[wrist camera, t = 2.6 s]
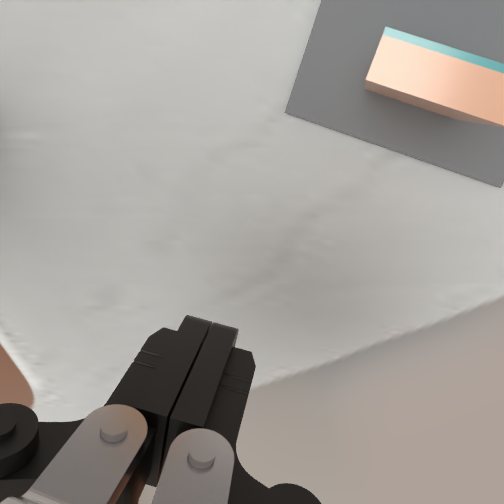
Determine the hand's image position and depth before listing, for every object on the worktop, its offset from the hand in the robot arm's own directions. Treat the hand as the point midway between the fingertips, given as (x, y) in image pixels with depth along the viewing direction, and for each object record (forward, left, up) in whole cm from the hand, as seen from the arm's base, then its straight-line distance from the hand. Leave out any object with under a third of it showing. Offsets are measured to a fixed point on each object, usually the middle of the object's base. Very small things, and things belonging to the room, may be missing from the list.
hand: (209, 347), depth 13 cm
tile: (+4, +9, -21) cm, 23 cm away
